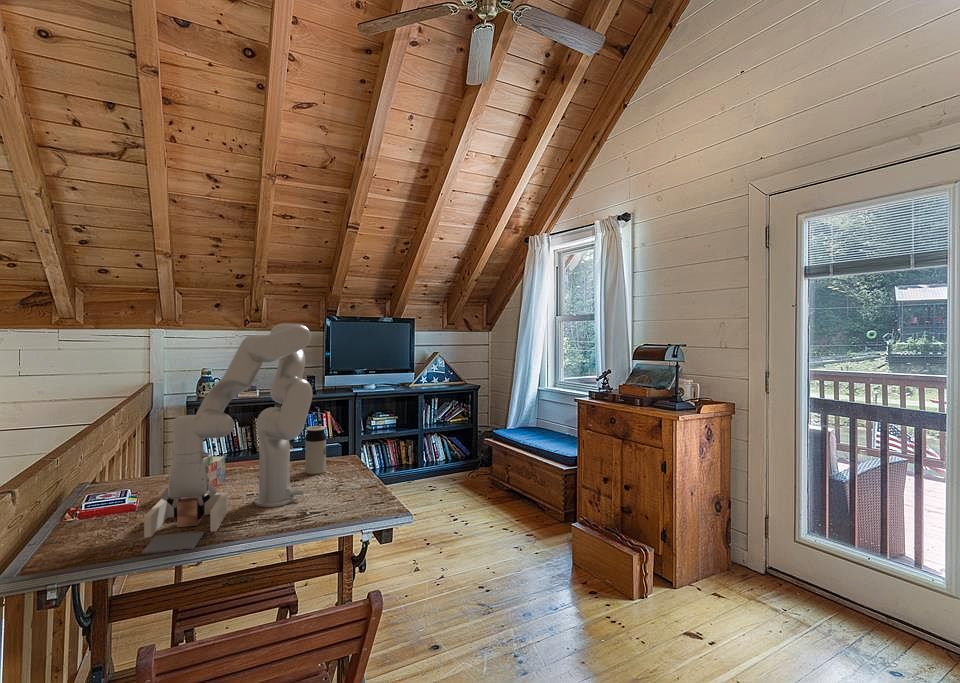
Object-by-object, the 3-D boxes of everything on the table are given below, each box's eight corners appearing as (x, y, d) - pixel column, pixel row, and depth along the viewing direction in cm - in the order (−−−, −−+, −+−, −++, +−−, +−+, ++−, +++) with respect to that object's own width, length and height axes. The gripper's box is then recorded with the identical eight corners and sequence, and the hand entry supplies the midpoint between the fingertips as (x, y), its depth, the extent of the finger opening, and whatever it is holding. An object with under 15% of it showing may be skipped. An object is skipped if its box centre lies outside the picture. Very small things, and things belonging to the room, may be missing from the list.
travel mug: (301, 473, 196) (301, 429, 196) (311, 468, 204) (311, 425, 204) (319, 475, 195) (320, 430, 195) (329, 469, 203) (329, 426, 202)
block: (201, 518, 148) (200, 495, 148) (196, 525, 144) (196, 501, 143) (182, 520, 147) (182, 497, 147) (177, 527, 142) (177, 503, 142)
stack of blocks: (209, 480, 187) (209, 448, 186) (225, 480, 187) (225, 448, 187) (174, 500, 165) (174, 463, 165) (193, 500, 165) (193, 464, 165)
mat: (204, 533, 139) (204, 531, 139) (194, 549, 129) (194, 547, 129) (155, 538, 136) (155, 536, 136) (141, 554, 126) (141, 552, 126)
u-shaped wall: (228, 510, 156) (228, 492, 156) (216, 531, 141) (216, 510, 141) (163, 516, 151) (163, 496, 151) (144, 537, 136) (144, 516, 136)
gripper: (223, 452, 151) (224, 511, 151) (160, 456, 146) (160, 516, 146) (218, 459, 143) (218, 520, 144) (150, 463, 139) (151, 526, 139)
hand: (189, 517), depth 145 cm, fingers closed on block, 4 cm apart
